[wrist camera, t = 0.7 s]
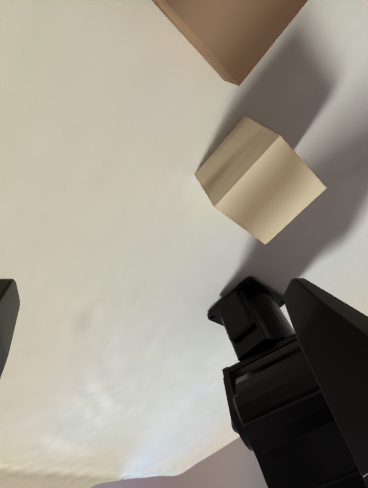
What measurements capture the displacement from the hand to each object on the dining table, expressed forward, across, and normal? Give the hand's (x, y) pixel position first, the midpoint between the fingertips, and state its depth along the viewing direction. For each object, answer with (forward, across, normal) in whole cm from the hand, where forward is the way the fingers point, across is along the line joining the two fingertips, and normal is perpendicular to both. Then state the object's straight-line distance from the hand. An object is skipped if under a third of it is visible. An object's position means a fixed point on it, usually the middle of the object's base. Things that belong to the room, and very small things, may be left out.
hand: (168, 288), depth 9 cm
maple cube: (+12, -7, -1) cm, 14 cm away
